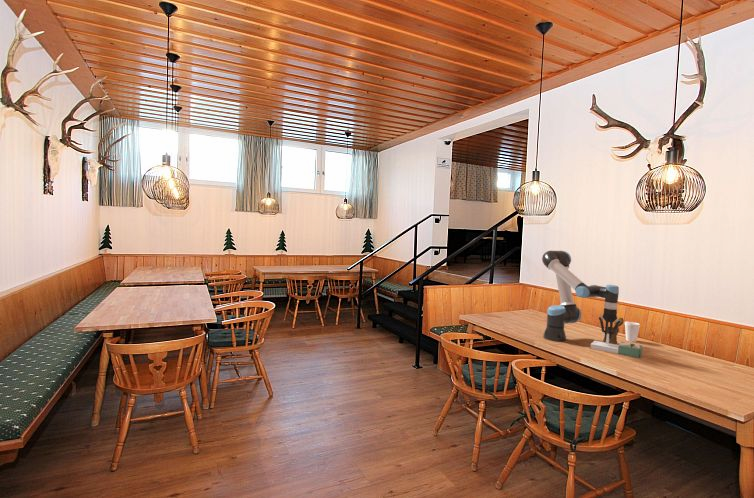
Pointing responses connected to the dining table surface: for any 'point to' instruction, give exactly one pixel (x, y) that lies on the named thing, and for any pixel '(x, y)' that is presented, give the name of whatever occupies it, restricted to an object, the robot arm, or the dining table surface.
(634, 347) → the tile
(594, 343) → the board
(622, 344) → the tile
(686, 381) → the dining table surface
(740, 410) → the dining table surface
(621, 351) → the box
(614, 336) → the wooden mug
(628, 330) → the foam cup
